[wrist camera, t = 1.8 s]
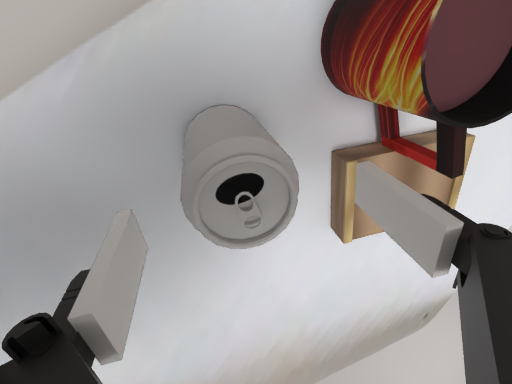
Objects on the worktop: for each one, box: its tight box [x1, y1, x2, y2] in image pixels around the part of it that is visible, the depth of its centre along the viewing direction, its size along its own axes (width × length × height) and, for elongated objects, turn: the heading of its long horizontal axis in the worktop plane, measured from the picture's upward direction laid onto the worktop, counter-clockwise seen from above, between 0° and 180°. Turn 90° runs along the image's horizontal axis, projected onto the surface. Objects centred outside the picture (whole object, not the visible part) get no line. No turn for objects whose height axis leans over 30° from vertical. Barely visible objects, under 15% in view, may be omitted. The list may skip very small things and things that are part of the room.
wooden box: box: [331, 130, 475, 244], centre depth 30 cm, size 14×10×3 cm
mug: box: [321, 0, 512, 179], centre depth 20 cm, size 10×14×12 cm
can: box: [180, 105, 299, 249], centre depth 21 cm, size 8×8×12 cm
